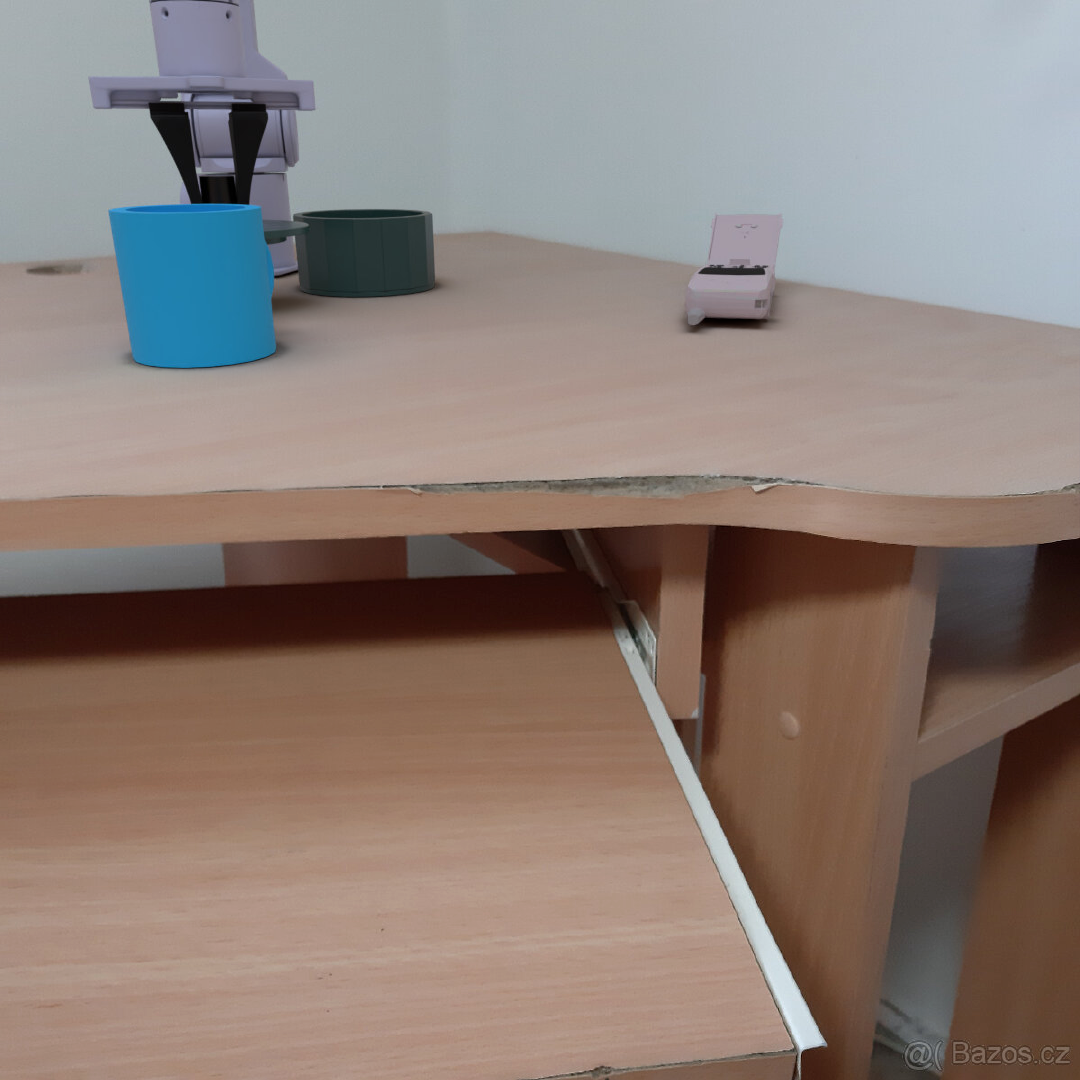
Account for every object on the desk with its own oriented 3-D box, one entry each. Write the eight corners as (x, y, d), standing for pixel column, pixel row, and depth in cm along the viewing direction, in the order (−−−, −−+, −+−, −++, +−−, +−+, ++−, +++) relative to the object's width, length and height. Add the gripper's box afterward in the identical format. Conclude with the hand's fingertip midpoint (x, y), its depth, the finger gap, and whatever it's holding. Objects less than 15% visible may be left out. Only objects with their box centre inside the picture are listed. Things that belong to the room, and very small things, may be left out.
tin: (277, 295, 78) (269, 217, 76) (330, 276, 88) (324, 208, 86) (411, 298, 76) (407, 219, 74) (449, 279, 87) (446, 209, 84)
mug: (227, 371, 52) (207, 214, 49) (101, 362, 54) (74, 211, 51) (330, 332, 63) (319, 201, 60) (221, 326, 65) (205, 199, 62)
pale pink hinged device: (784, 212, 82) (776, 238, 59) (778, 283, 84) (768, 333, 62) (713, 212, 83) (679, 237, 61) (709, 282, 85) (675, 331, 63)
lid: (98, 248, 65) (86, 178, 63) (189, 233, 76) (181, 172, 74) (266, 252, 63) (258, 179, 61) (335, 235, 74) (330, 173, 72)
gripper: (71, -8, 58) (110, 227, 63) (313, 3, 63) (330, 221, 68) (80, 6, 64) (115, 219, 69) (300, 15, 69) (317, 214, 74)
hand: (221, 220), depth 69 cm, fingers closed on lid, 2 cm apart
